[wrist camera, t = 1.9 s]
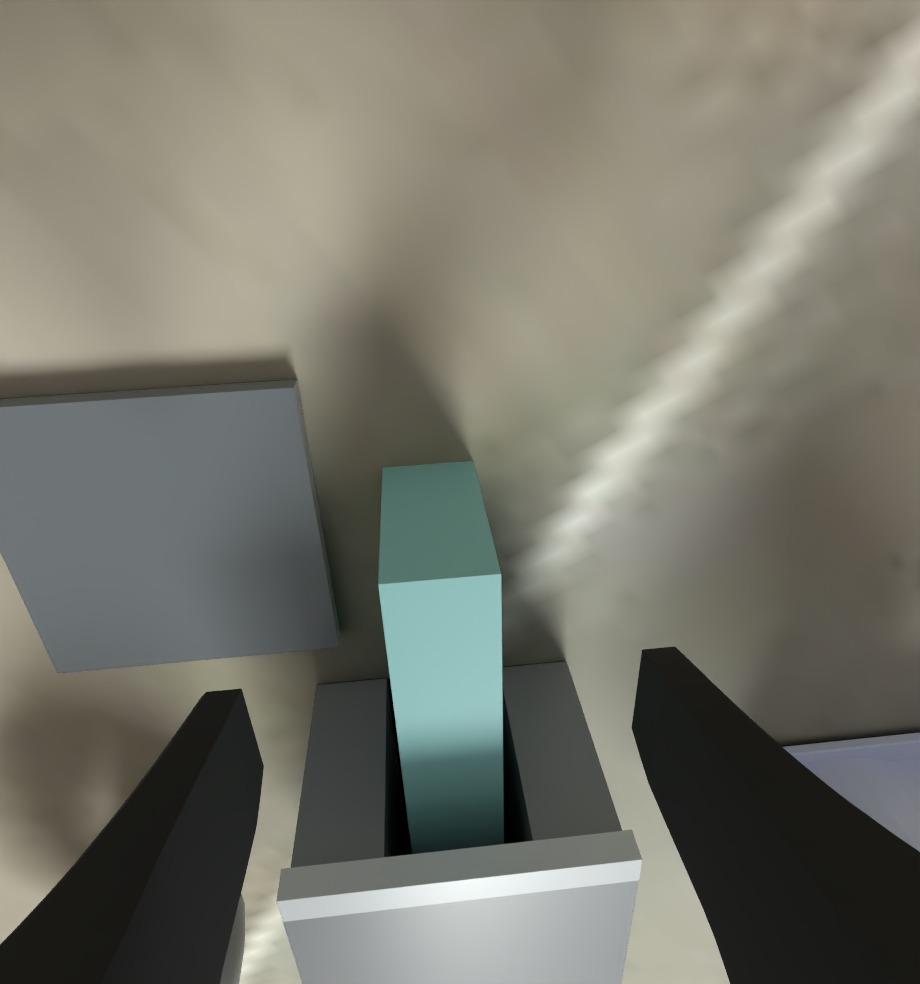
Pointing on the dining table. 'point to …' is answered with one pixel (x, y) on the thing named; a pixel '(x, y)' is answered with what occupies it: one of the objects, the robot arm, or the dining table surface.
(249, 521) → the coaster
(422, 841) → the tall teal prism
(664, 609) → the dining table surface
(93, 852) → the robot arm
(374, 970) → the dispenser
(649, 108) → the dining table surface
